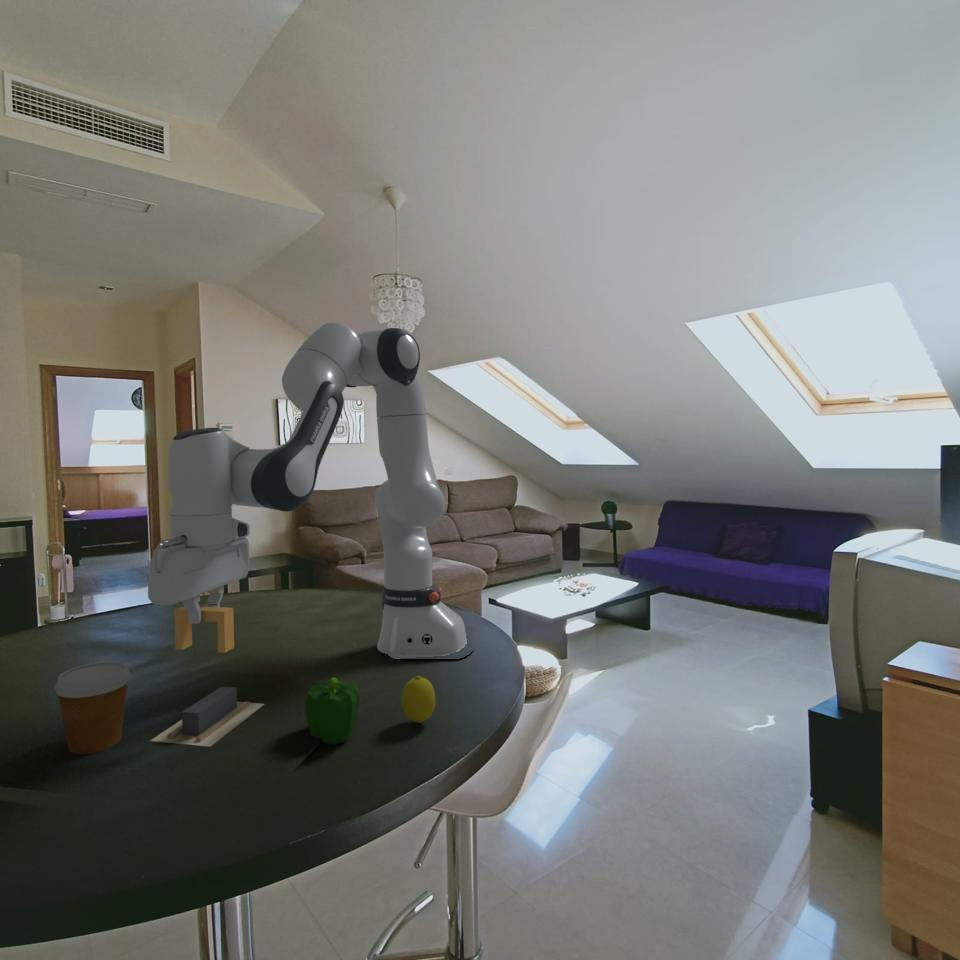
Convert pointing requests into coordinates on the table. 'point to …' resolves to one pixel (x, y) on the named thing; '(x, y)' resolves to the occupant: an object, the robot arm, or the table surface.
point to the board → (211, 733)
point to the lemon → (418, 699)
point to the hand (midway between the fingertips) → (204, 618)
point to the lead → (208, 711)
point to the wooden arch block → (215, 614)
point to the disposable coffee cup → (93, 705)
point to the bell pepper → (332, 711)
